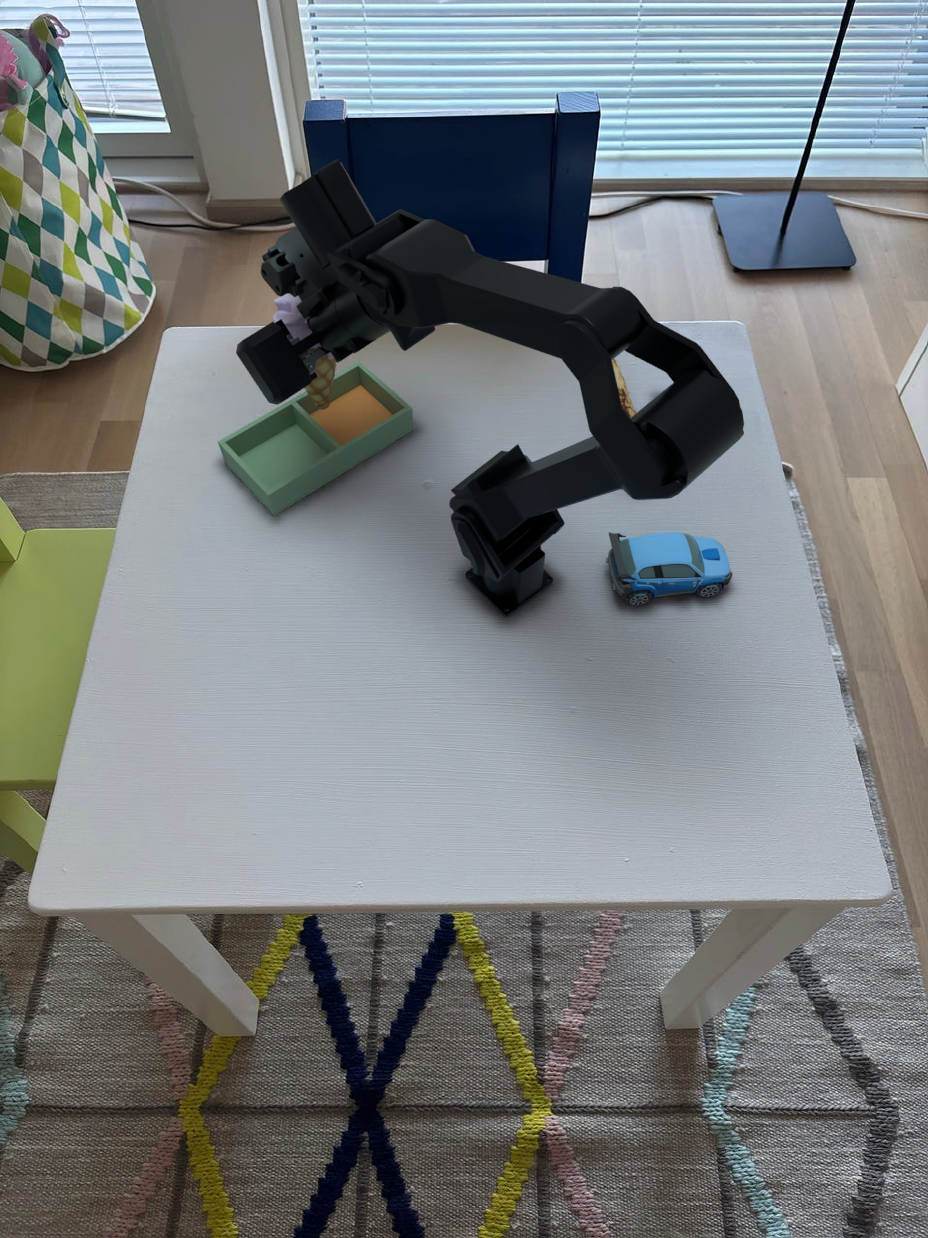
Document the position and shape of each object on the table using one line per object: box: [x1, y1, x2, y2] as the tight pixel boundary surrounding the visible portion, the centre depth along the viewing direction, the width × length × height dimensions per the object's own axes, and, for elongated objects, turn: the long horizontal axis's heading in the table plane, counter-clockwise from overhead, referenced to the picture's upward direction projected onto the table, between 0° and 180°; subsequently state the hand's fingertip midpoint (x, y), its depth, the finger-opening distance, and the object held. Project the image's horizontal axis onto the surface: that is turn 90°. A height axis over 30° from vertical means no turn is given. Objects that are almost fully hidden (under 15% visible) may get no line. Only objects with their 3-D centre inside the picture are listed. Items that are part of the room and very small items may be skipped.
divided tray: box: [217, 360, 415, 516], centre depth 100 cm, size 10×19×3 cm, turn 130°
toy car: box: [605, 531, 733, 607], centre depth 89 cm, size 6×12×6 cm, turn 96°
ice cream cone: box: [272, 294, 337, 410], centre depth 92 cm, size 7×6×15 cm
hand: (306, 344), depth 92 cm, fingers closed on ice cream cone, 6 cm apart
